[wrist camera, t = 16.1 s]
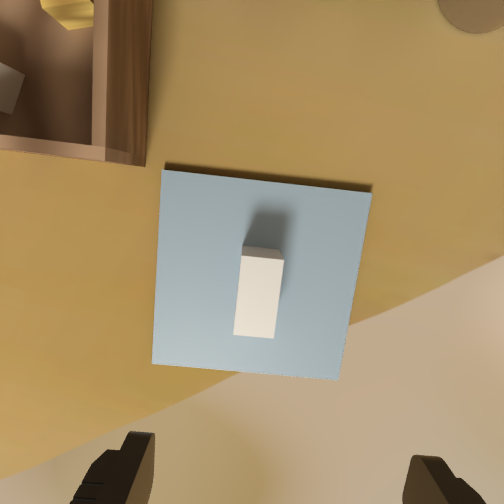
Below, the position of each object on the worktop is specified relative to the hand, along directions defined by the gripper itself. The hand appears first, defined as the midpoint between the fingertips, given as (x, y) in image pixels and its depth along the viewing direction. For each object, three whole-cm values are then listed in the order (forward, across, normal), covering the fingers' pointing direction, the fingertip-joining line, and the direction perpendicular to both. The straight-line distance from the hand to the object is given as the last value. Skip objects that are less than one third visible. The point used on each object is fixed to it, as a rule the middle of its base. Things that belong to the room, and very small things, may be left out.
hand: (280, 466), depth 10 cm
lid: (+28, 0, +2) cm, 28 cm away
